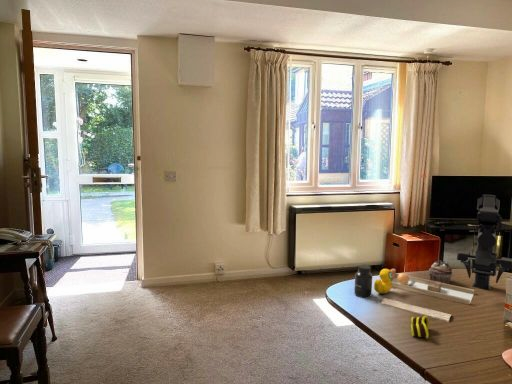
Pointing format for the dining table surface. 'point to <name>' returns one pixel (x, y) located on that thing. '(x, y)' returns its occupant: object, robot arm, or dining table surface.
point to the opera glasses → (420, 326)
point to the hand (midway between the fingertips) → (482, 280)
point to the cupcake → (440, 272)
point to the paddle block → (434, 286)
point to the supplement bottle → (363, 281)
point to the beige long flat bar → (416, 309)
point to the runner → (443, 290)
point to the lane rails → (432, 293)
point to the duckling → (384, 281)
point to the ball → (403, 278)
